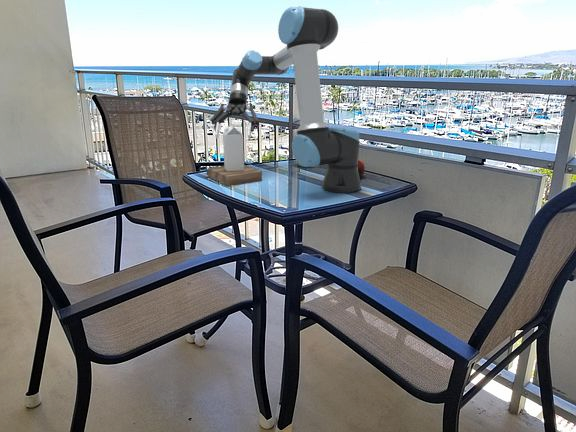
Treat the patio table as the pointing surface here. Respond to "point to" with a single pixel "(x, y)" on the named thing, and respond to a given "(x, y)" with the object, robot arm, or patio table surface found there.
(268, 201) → the patio table surface
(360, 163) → the fruit
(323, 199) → the patio table surface
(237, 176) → the brown flat block
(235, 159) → the milk carton
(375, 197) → the patio table surface
